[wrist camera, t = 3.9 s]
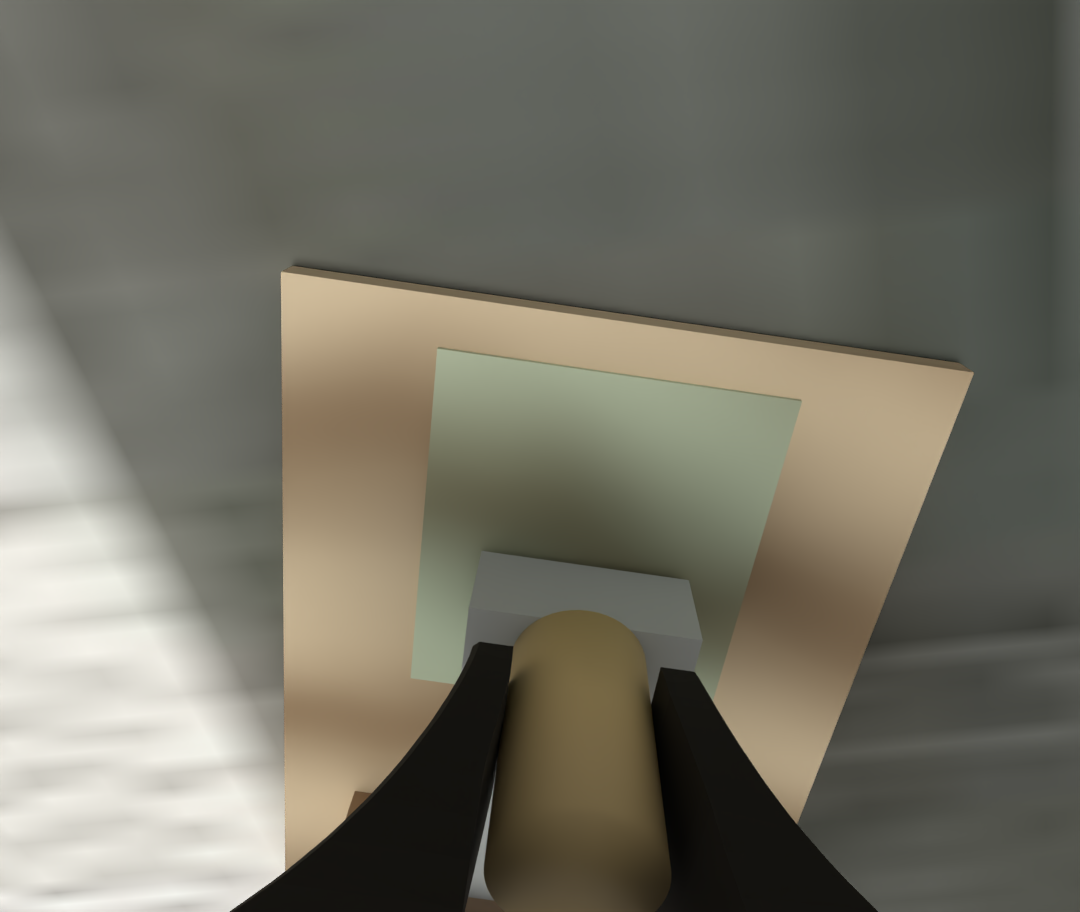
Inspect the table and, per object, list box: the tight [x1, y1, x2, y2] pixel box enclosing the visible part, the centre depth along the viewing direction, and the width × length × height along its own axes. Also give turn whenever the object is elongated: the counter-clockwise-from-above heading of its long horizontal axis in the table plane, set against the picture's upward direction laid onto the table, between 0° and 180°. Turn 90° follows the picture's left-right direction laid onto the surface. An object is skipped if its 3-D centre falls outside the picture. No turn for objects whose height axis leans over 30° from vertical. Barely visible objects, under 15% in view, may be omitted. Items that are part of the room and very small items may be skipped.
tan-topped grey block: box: [461, 551, 703, 912], centre depth 15 cm, size 8×4×6 cm, turn 172°
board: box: [281, 266, 974, 912], centre depth 19 cm, size 23×13×1 cm, turn 172°
